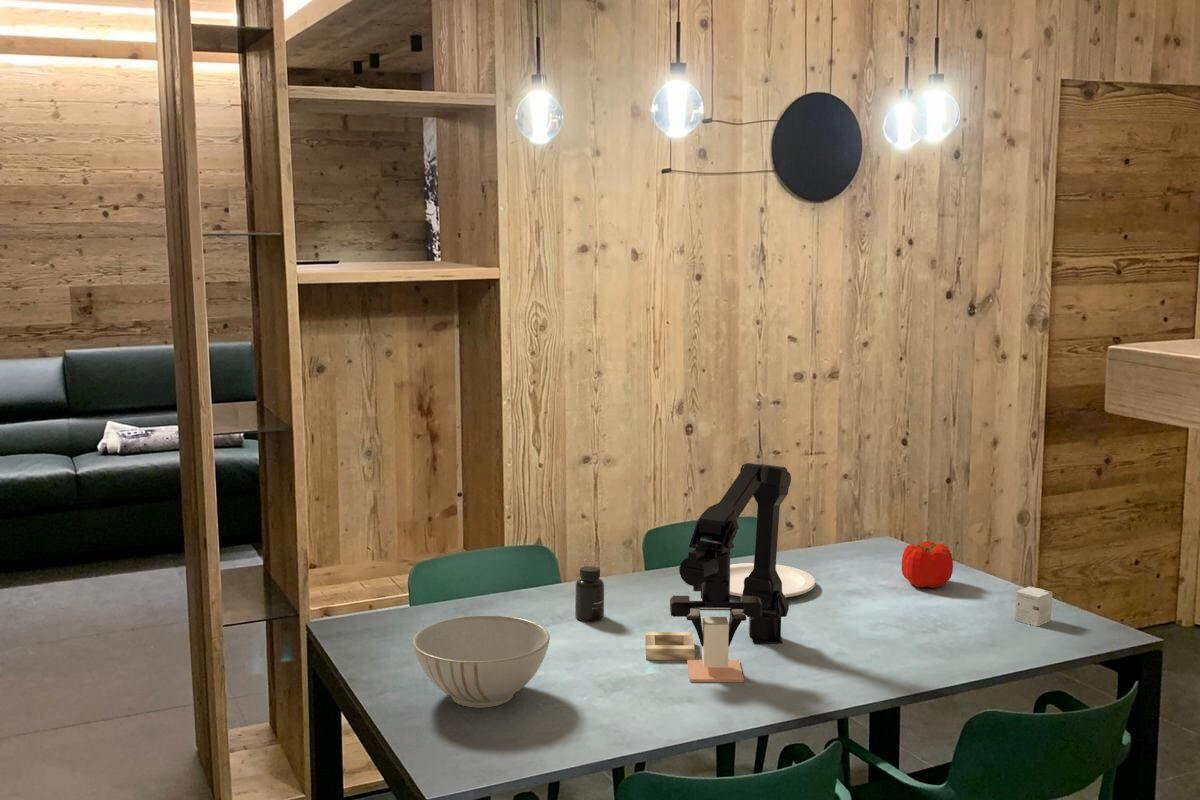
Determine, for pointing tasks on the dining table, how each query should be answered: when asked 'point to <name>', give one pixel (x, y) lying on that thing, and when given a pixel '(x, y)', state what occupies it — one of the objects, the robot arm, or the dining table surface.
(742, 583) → the plate
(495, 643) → the decorative bowl
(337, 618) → the dining table surface
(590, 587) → the supplement bottle
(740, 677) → the terracotta coaster
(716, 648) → the cream block
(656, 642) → the birch pocket holder
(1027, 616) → the skincare box
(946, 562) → the tomato
